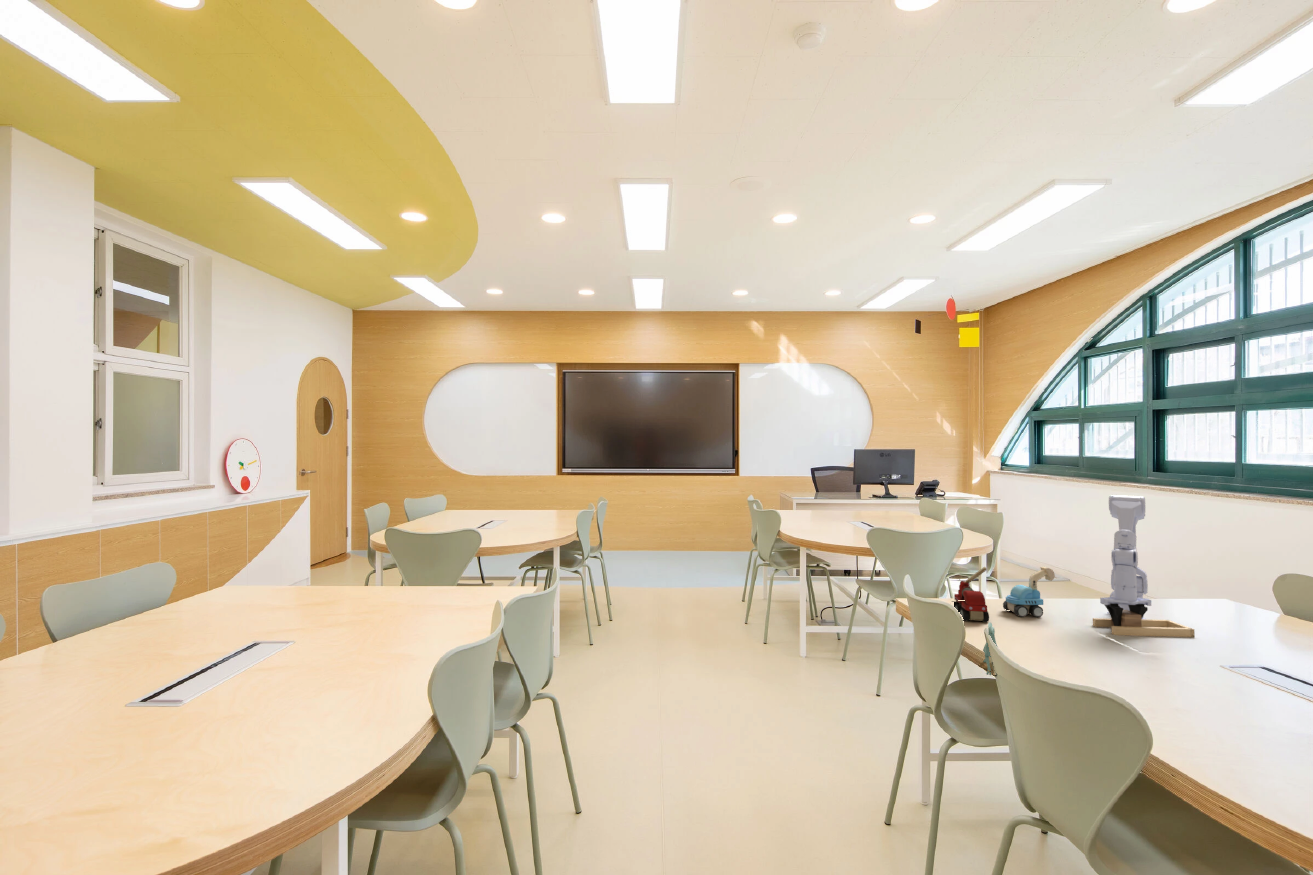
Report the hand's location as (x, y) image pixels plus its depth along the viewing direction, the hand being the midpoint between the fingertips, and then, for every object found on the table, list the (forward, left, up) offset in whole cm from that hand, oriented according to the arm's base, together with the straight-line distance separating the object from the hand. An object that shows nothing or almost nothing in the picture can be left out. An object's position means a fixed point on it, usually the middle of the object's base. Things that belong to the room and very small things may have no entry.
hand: (1126, 626), depth 180 cm
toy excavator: (-19, -19, -2) cm, 27 cm away
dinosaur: (+34, -59, -2) cm, 68 cm away
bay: (0, +5, -2) cm, 5 cm away
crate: (0, 0, -1) cm, 1 cm away
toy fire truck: (-14, -42, -2) cm, 44 cm away
